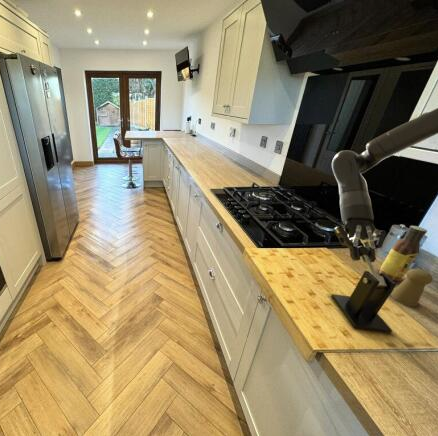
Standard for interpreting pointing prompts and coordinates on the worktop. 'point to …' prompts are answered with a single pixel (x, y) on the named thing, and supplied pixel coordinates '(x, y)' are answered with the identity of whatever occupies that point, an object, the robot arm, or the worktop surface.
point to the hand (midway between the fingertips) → (363, 260)
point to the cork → (412, 287)
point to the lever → (364, 254)
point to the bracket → (366, 303)
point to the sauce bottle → (403, 254)
